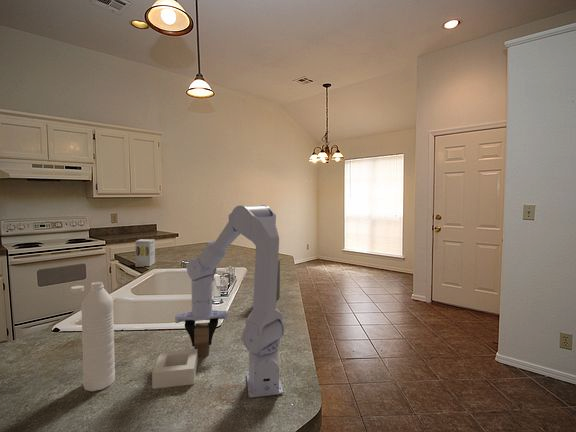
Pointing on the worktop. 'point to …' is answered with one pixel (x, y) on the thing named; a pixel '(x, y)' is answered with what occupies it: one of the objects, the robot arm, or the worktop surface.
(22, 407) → the worktop surface
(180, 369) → the ceramic well
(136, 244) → the supplement box
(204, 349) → the walnut peg
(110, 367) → the water bottle
